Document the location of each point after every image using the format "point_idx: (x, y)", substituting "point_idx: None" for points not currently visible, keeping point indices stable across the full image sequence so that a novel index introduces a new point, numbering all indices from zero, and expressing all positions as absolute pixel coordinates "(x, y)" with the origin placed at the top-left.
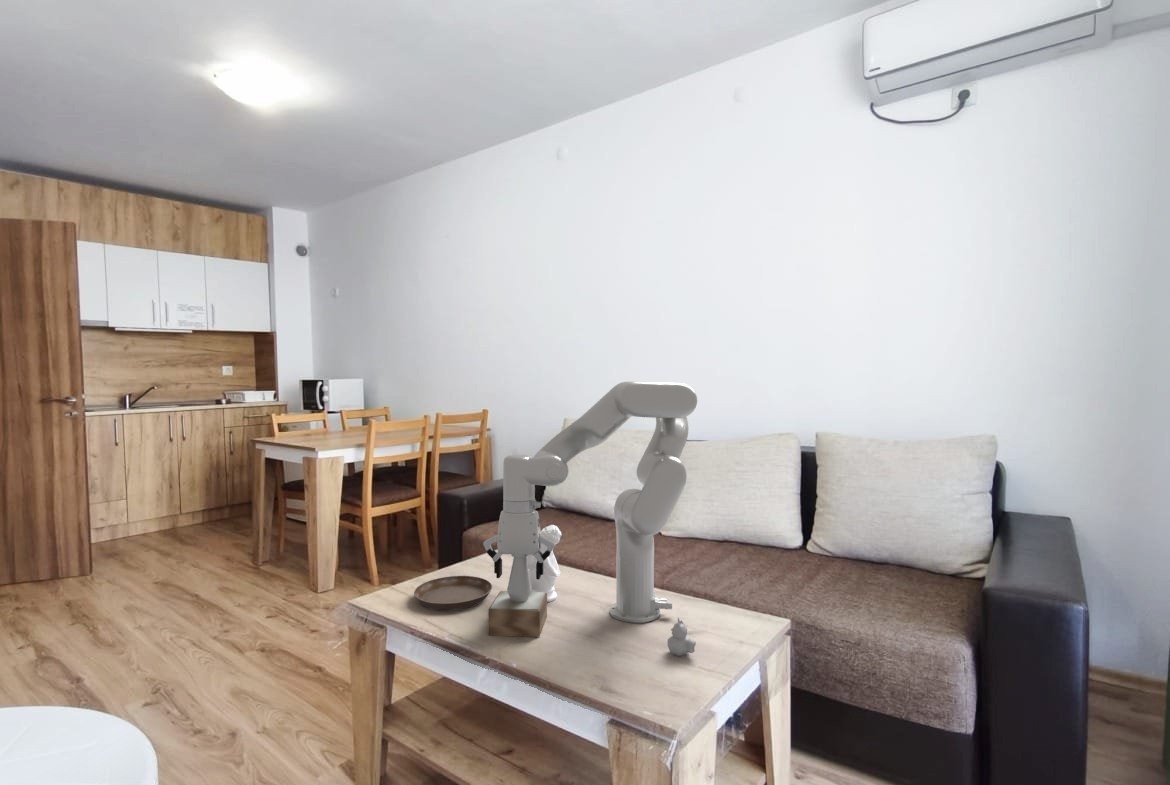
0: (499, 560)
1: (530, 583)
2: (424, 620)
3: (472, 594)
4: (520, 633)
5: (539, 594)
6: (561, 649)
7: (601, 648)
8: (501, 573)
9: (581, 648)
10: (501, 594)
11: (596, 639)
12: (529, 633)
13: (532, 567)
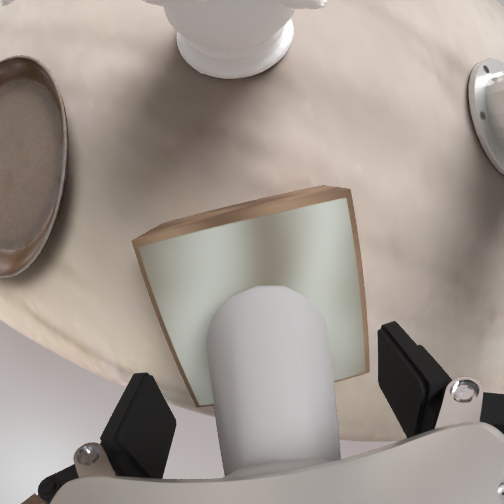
0: (142, 477)
1: (327, 337)
2: (29, 314)
3: (28, 120)
4: None
5: (330, 233)
6: None
7: (472, 323)
8: (154, 389)
9: (440, 340)
10: (162, 287)
11: (466, 289)
12: None
13: (194, 4)
